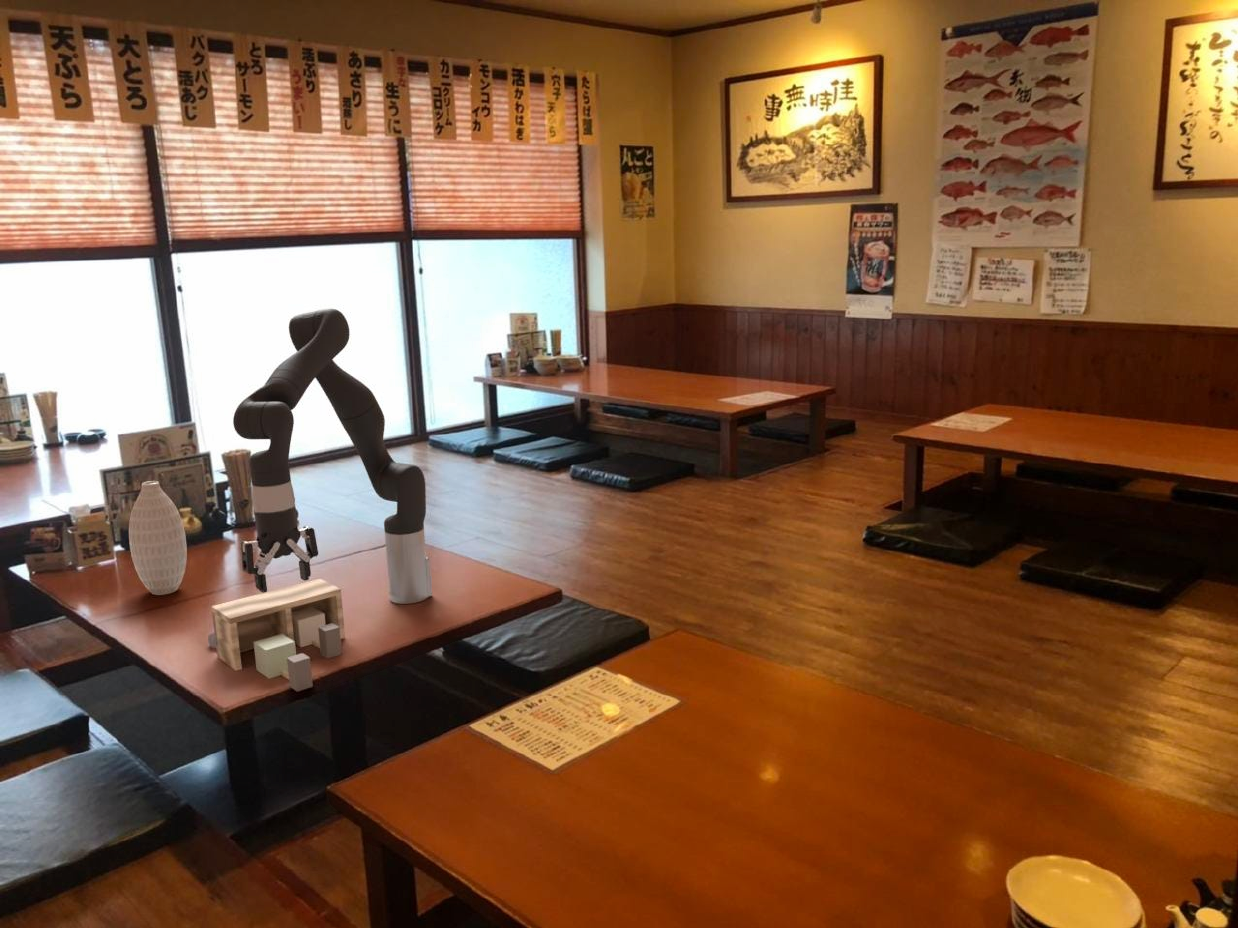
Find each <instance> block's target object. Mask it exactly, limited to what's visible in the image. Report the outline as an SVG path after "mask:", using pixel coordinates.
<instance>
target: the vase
mask: <svg viewBox="0 0 1238 928" xmlns="http://www.w3.org/2000/svg"><path fill="white" fill-rule="evenodd" d="M130 512H131V513H130V516H129V523H128V540H129V543H128V544H129V550H130V556H131V559H132V563H133V565H134V568H135V571H136V573H137V575H138V577H139V579H140V581H141V583H142V585H143V586H144V587H145V588H146V589H147V590H148V591H149V592H150V594H152V595H154V596H155V595H156V596H164V595H170V594H173V593H174V592H176V591H178V589H179V587H180V585H181V583H182V581H183V578H184V576H185V571H186V565H187V557H188V556H187V555H188V553H187V552H188V550H187V547H188V546H187V538H186V532H185V527H184V526H185V525H184V523H183V520H182V517H181V514H180V511H179V510H178V508H177V506H176V505H175V503H174V502H173V501H172V499H171V498H170V497H169V496H168V495H167V493H165V491H164V490H163V489H162V487H161V485H160V482H159V481H157V480H149V481H144V482H142V483H141V490H140V492H139V495H138V496H137V498H136V500H135V502H134V504H133V507H132V510H131V511H130Z"/></svg>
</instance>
